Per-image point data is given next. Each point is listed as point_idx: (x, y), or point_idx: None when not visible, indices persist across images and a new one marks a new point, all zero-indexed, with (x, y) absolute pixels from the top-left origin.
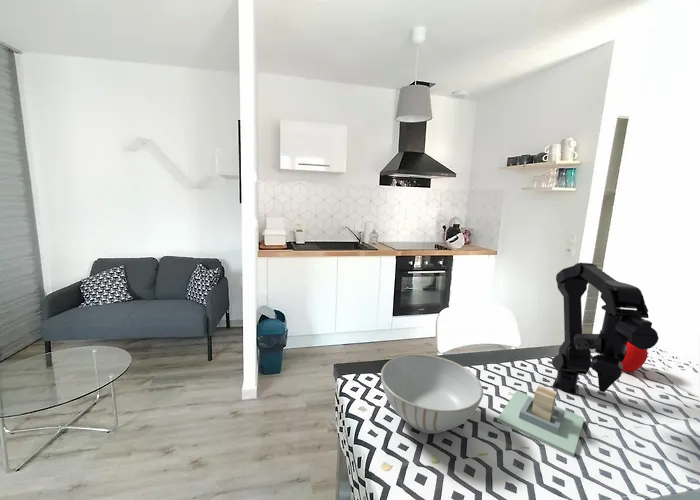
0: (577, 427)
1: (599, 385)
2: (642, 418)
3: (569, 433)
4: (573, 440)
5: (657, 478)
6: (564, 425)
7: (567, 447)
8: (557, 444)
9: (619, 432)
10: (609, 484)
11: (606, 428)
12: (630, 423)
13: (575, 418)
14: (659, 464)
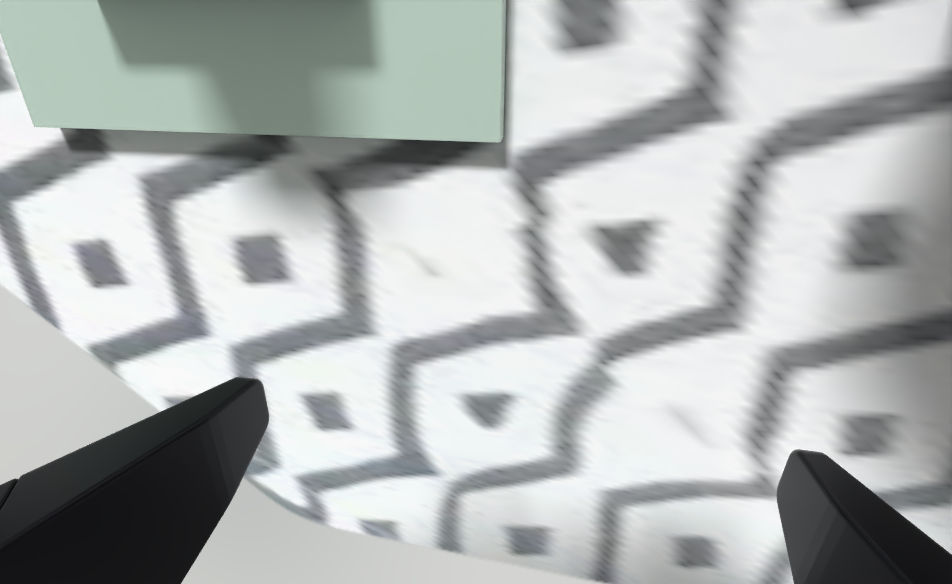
0: (320, 111)
1: (150, 425)
2: (831, 457)
3: (195, 71)
4: (148, 106)
5: (275, 437)
6: (258, 20)
7: (46, 83)
8: (7, 21)
9: (536, 334)
10: (49, 280)
11: (523, 271)
12: (705, 393)
13: (431, 81)
14: (386, 458)
